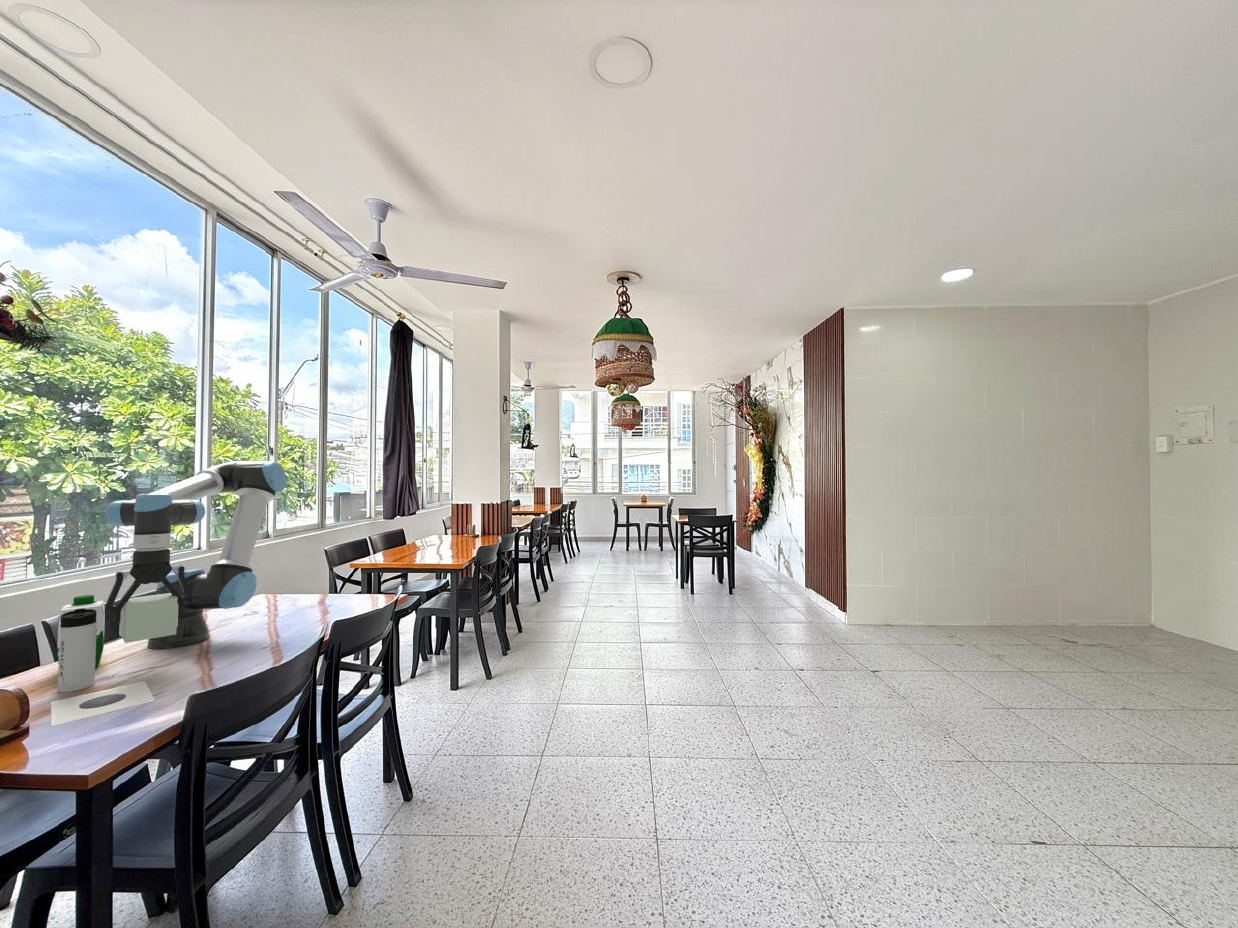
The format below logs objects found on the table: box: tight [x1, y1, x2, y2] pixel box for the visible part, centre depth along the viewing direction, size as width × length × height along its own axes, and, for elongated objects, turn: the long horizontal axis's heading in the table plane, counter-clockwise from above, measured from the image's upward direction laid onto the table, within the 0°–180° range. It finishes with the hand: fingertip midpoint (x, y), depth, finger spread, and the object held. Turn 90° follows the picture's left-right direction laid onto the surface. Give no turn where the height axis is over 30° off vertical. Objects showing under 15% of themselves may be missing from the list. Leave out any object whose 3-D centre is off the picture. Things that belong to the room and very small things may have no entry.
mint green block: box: [121, 593, 177, 644], centre depth 136 cm, size 10×10×10 cm
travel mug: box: [57, 608, 97, 694], centre depth 125 cm, size 6×7×20 cm
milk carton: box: [57, 594, 106, 671], centre depth 139 cm, size 9×9×20 cm
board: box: [50, 680, 156, 727], centre depth 116 cm, size 18×16×1 cm
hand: (149, 630), depth 136 cm, fingers closed on mint green block, 10 cm apart
